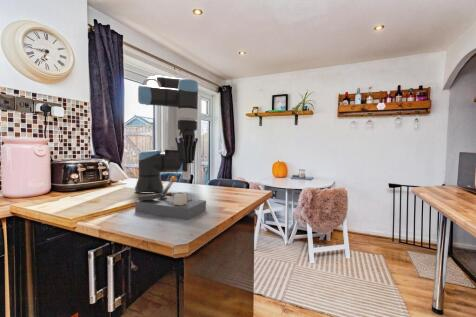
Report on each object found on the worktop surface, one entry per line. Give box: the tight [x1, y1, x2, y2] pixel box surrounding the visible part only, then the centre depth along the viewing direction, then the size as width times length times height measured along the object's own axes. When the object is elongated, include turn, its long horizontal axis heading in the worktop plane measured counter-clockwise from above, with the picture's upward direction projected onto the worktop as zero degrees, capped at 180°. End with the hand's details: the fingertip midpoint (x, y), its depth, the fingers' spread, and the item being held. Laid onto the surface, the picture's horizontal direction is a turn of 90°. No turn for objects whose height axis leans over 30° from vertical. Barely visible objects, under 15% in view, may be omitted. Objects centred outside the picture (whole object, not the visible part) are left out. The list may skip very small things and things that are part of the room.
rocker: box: [137, 192, 162, 201], centre depth 96 cm, size 5×7×2 cm
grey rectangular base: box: [134, 195, 207, 221], centre depth 96 cm, size 14×24×6 cm, turn 70°
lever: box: [160, 175, 178, 198], centre depth 99 cm, size 3×3×11 cm
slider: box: [173, 191, 188, 205], centre depth 92 cm, size 4×3×4 cm
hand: (186, 179), depth 96 cm, fingers closed
